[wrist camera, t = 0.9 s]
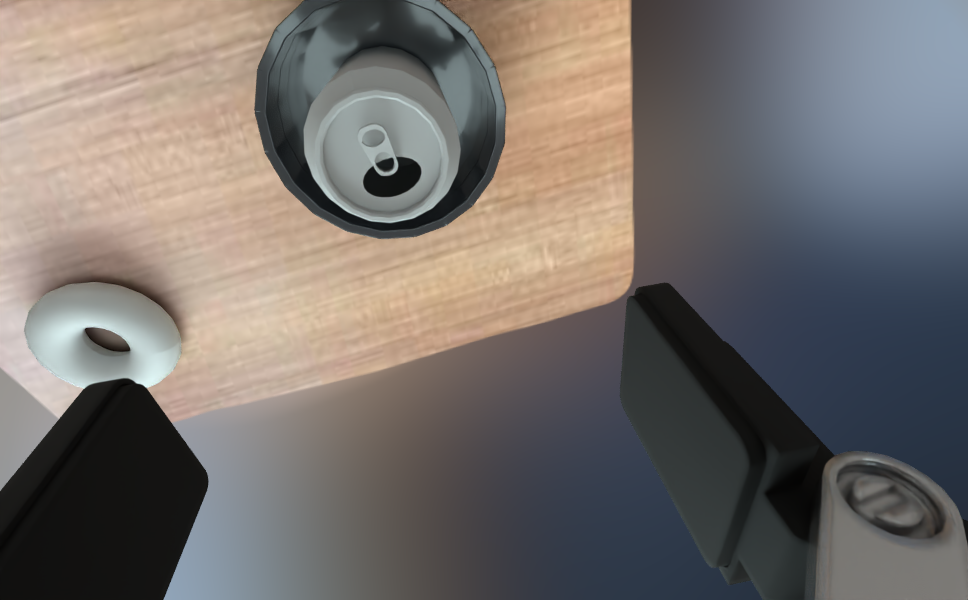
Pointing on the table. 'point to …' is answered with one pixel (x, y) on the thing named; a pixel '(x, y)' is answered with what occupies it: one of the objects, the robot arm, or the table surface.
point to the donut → (108, 306)
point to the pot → (322, 51)
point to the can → (382, 137)
